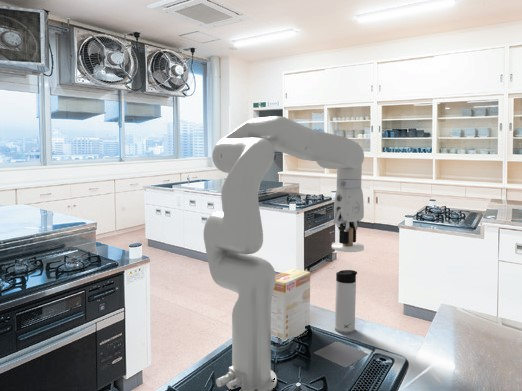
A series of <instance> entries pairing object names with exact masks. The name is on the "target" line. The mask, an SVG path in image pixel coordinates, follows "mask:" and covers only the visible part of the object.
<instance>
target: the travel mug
mask: <svg viewBox="0 0 522 391" xmlns="http://www.w3.org/2000/svg"><path fill="white" fill-rule="evenodd" d="M357 274H358V271H357V270H353V269H345V270H339V271H337V272H336V279H335V307H334V308H335V312H334V330H335V332H337V333H339V334H341V335H343V334H344V335H351V334H354V333H355V331H356V330H355V329H356V299H357V298H356V296H357V295H356V293H357V281H356V280H357Z"/></svg>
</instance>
